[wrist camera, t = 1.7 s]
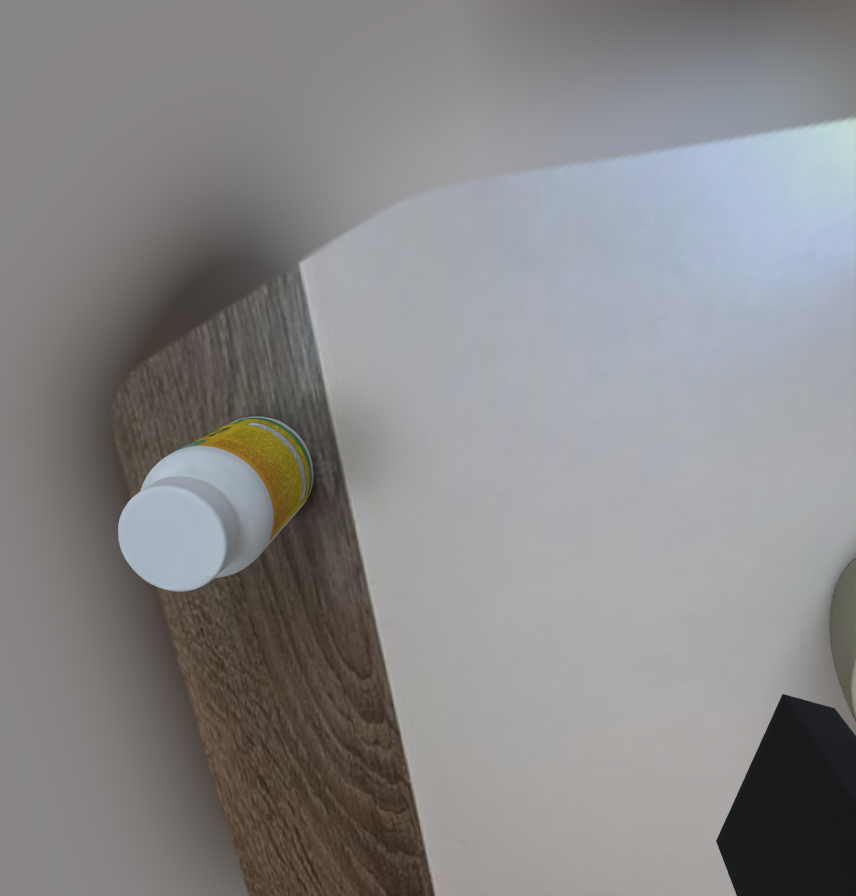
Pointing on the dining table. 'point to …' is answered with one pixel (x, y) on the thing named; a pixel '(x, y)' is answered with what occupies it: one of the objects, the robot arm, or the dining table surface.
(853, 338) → the dining table surface
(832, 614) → the bowl
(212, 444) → the supplement bottle
